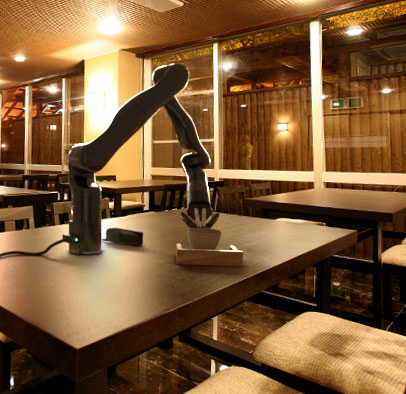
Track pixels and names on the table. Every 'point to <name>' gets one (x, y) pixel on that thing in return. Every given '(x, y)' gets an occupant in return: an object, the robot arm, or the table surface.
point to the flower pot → (203, 238)
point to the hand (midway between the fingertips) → (201, 238)
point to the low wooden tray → (209, 256)
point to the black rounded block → (124, 236)
